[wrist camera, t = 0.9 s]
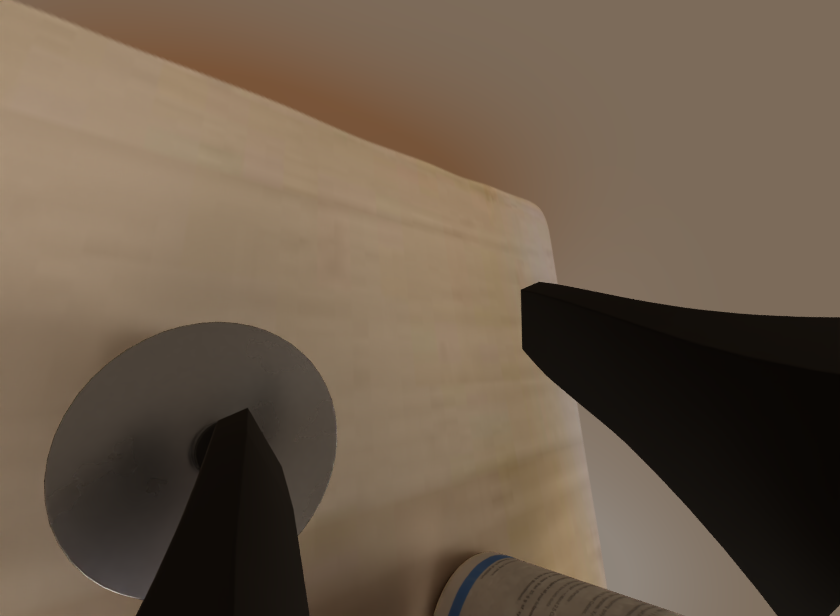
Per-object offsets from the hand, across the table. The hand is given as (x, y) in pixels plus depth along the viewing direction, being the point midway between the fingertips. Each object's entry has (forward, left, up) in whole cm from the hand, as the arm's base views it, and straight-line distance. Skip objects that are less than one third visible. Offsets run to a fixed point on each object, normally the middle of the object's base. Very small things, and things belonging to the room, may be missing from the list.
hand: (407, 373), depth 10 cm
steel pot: (-3, 0, -13) cm, 14 cm away
